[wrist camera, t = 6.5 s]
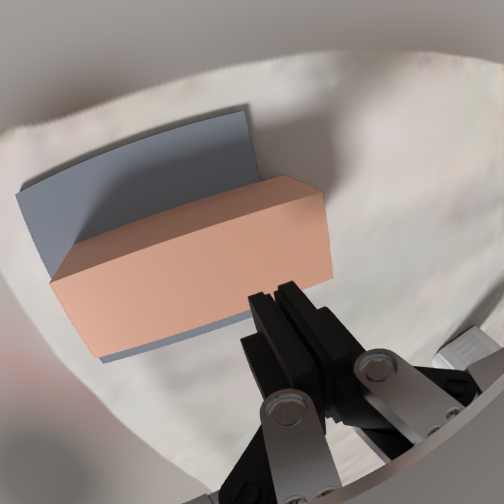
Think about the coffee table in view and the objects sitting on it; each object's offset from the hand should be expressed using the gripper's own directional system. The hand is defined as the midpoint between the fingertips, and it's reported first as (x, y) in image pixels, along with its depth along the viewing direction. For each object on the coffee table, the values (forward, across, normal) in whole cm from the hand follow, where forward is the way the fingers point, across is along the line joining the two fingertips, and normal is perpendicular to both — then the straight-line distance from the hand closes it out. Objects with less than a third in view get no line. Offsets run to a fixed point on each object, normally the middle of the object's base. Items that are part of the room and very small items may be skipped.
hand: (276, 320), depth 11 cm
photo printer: (+10, -28, +28) cm, 41 cm away
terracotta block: (+7, -5, 0) cm, 8 cm away
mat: (+10, +4, 0) cm, 11 cm away
